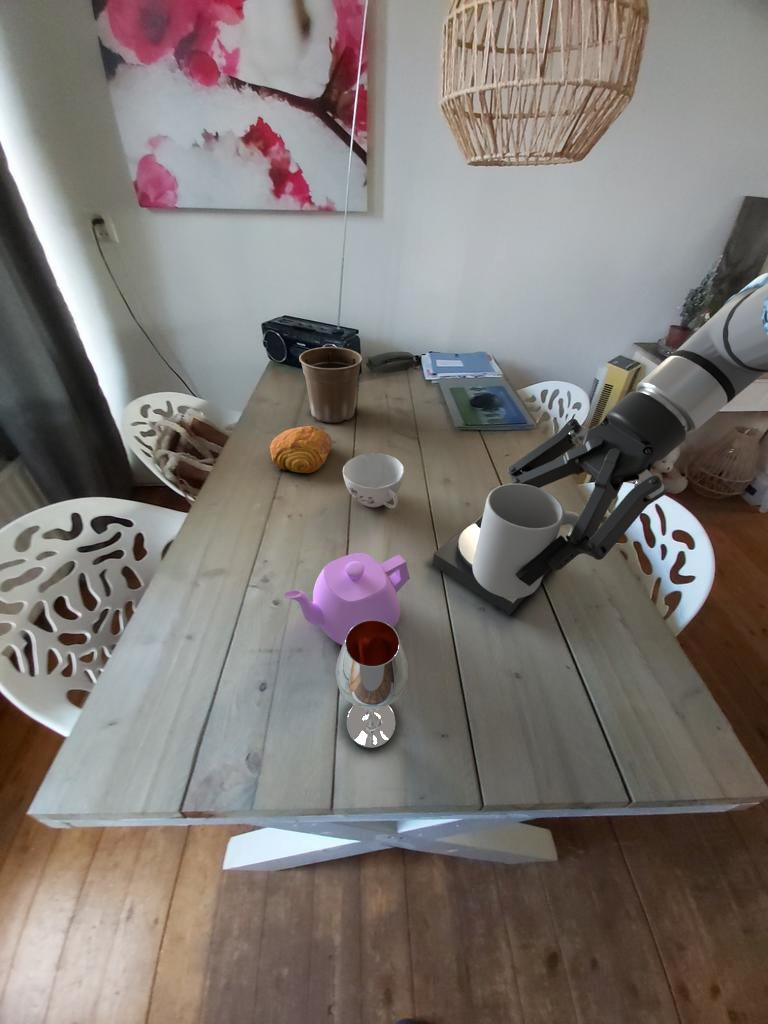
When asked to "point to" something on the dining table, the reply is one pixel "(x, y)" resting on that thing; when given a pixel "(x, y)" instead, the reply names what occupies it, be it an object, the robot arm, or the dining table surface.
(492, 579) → the mug
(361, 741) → the wineglass
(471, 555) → the scale pan
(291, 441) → the croissant
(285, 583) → the dining table surface
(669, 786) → the dining table surface
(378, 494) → the teacup
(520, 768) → the dining table surface
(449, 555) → the scale
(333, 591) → the teapot
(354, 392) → the plant pot
